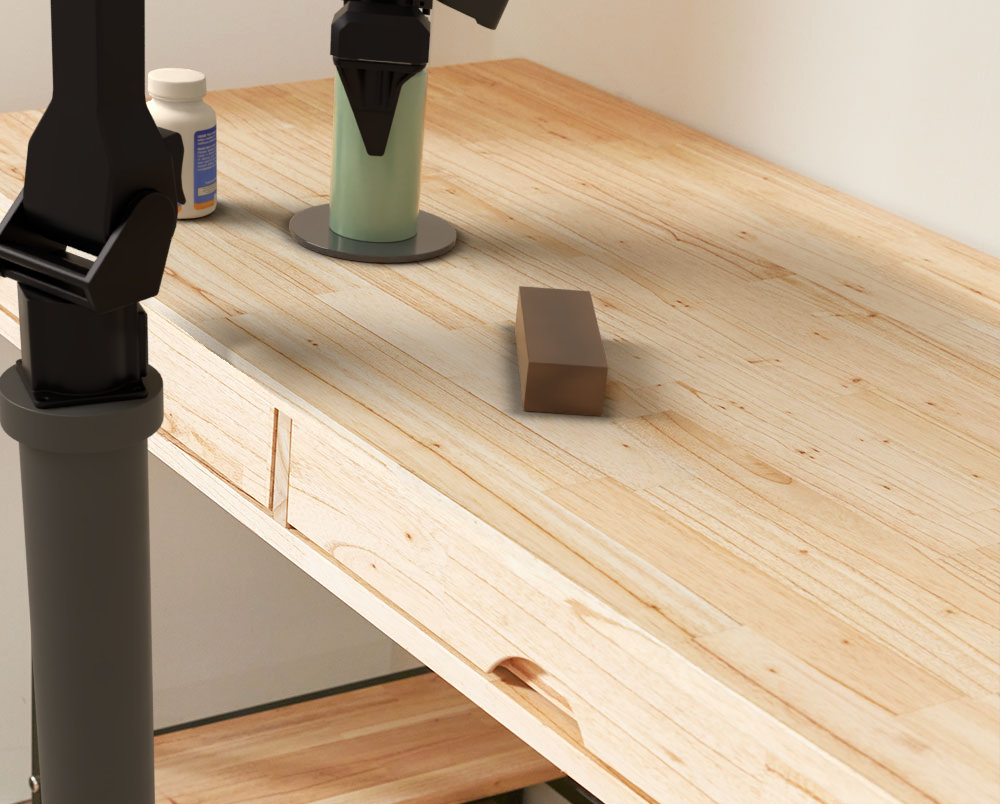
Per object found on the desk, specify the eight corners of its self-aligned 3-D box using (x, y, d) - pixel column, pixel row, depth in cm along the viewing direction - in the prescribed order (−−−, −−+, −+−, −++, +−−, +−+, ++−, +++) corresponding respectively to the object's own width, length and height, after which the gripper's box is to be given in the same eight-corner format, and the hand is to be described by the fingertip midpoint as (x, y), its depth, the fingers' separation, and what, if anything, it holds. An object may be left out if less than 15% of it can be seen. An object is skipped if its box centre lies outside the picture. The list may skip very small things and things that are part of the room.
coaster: (323, 268, 104) (323, 261, 104) (266, 212, 113) (266, 206, 113) (483, 256, 109) (483, 250, 109) (416, 203, 118) (417, 197, 118)
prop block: (523, 411, 87) (528, 361, 85) (514, 330, 97) (519, 285, 96) (602, 416, 87) (608, 367, 86) (584, 335, 97) (590, 290, 96)
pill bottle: (205, 195, 115) (204, 64, 111) (226, 218, 111) (226, 82, 107) (132, 199, 113) (129, 65, 109) (151, 222, 109) (148, 84, 104)
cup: (244, 151, 105) (382, 28, 101) (254, 126, 110) (385, 9, 107) (369, 284, 109) (505, 172, 106) (372, 254, 115) (502, 146, 112)
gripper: (519, -67, 93) (497, 185, 100) (508, -107, 109) (489, 112, 117) (334, -84, 92) (325, 172, 99) (350, -122, 108) (341, 100, 116)
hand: (378, 137), depth 108 cm, fingers open, 9 cm apart
